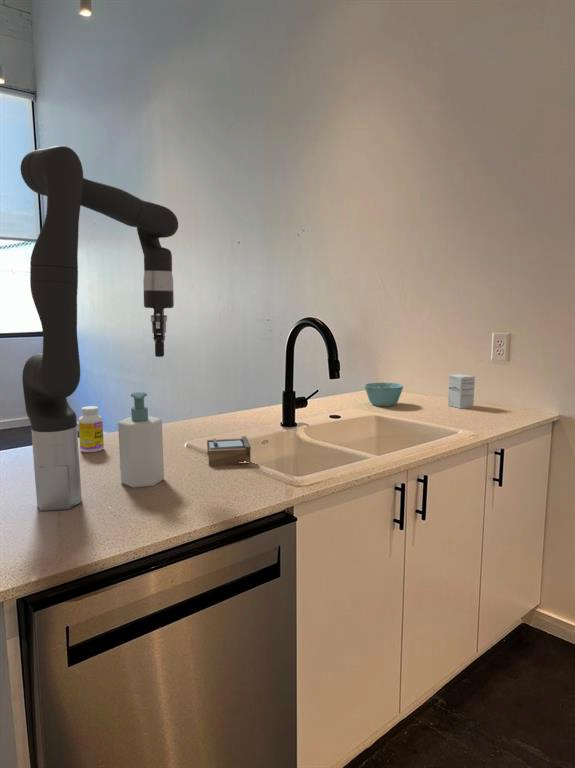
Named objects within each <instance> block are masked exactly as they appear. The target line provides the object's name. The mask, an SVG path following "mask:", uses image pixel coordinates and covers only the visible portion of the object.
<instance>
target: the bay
mask: <svg viewBox="0 0 575 768" xmlns="http://www.w3.org/2000/svg"><path fill="white" fill-rule="evenodd" d="M237 440H241V442H242V444H243V446H244V448H238V449H218V450H209V442H213V439H207V440H206V442H207V443H206V444H207V447H206V448H207V450H206V451H207V455H208V467H209V466H227V465H229V466H230V465H239V464H238V463H239V462H244V461H246V462H250V463H249V464H251V448H252V447H251V445H250V442H249V440H248V437H247V436H246V435H245V436H241V438H223V439H222V438H221V439H219V438H218V439H216V441H217V442H221V441H237Z"/></svg>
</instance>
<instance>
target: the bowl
mask: <svg viewBox="0 0 575 768" xmlns="http://www.w3.org/2000/svg"><path fill="white" fill-rule="evenodd" d="M363 386H364V390H365V392H366V395H367V398H368V400H369V403H371V404H372V405H373V406H375V407H393V406H395V405H397V404H398V402H399V400H400V396H401V394H402V393H403V389H404V385H403V384H401V383H396V382H384V381H383V382H369V383H365V384H364V385H363Z"/></svg>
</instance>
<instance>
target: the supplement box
mask: <svg viewBox="0 0 575 768" xmlns="http://www.w3.org/2000/svg"><path fill="white" fill-rule="evenodd" d="M448 377H449V378H448V392H447V393H448V394H447V395H448V396H447V406H450V407H454V408H457V409H459V410H460V409H470V408H474V404H475V403H474V402H475V401H474V399H475V385H476V383H475V381H476V376H474V375H470V374H469V375H468V374H464V373H458V374H449V375H448Z"/></svg>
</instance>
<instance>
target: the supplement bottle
mask: <svg viewBox="0 0 575 768" xmlns="http://www.w3.org/2000/svg"><path fill="white" fill-rule="evenodd" d="M81 414H82V415H80V416H79V418H78V433H79V434H78V438H79V448H80V449H79V450H80V451H81V452H82V453H87V454H88V453H97V452H100V451H102V450H104V448H105V447H104V445H105V444H104V425H103V422H104V421H103V417H102V416H101V415H100V414H99V407H98V406H96V405H89V406H88V405H87V406H83V407H81Z"/></svg>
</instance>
